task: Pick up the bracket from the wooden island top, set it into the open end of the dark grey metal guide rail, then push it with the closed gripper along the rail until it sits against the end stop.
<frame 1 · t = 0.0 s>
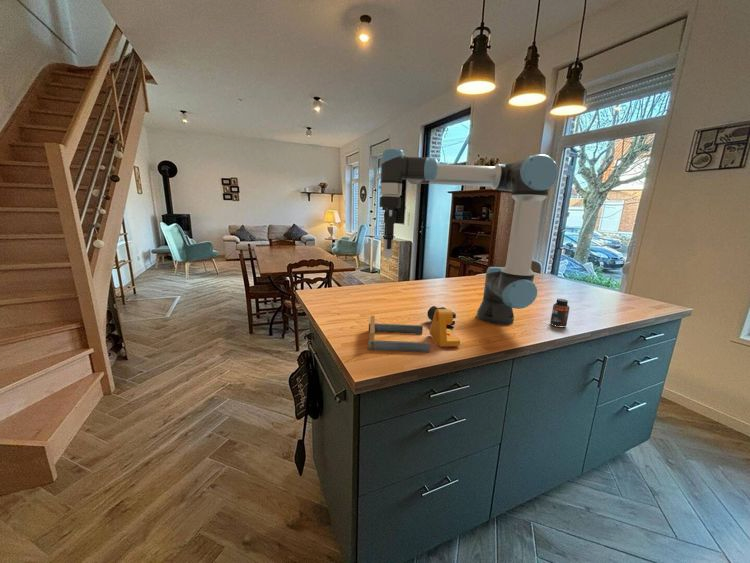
hand: (387, 255, 112), 28 cm above the table, tool pointing down, fingers open, 13 cm apart
bracket: (444, 342, 107), on the table
rail: (396, 340, 106), on the table
supplement bottle: (557, 325, 128), on the table
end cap: (440, 325, 122), on the table
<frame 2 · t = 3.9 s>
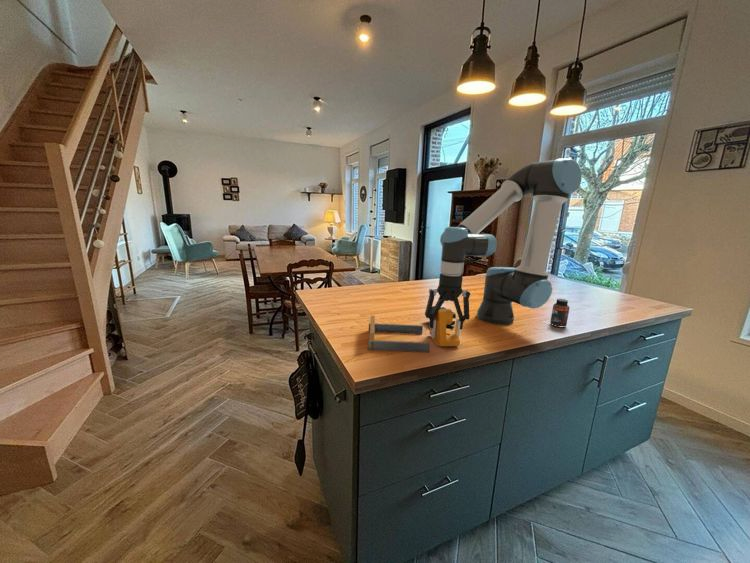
hand: (444, 336, 106), 2 cm above the table, tool pointing down, fingers closed on bracket, 8 cm apart
bracket: (444, 342, 107), on the table, touching gripper
everything else where it was.
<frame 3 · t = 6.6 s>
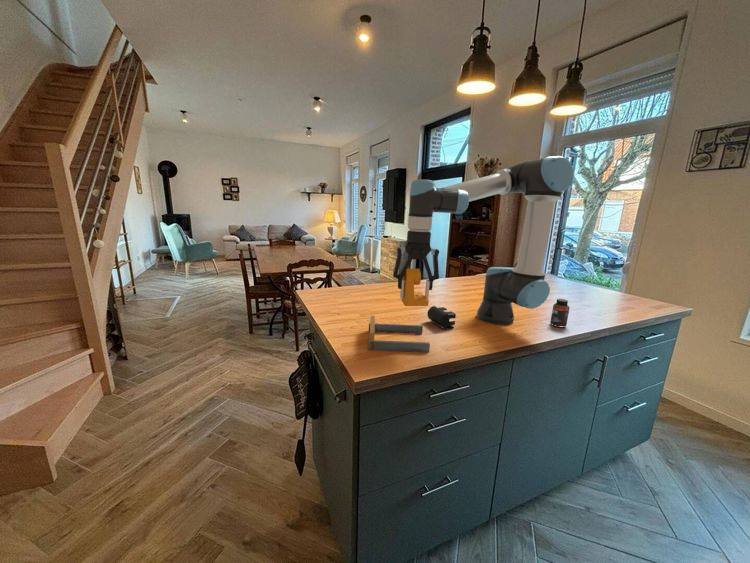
hand: (414, 298, 102), 16 cm above the table, tool pointing down, fingers closed on bracket, 8 cm apart
bracket: (413, 304, 103), point 14 cm above the table, touching gripper
everything else where it was.
when the fingers open (3 cm above the table, at t = 9.5 s): bracket drops 1 cm, on the table.
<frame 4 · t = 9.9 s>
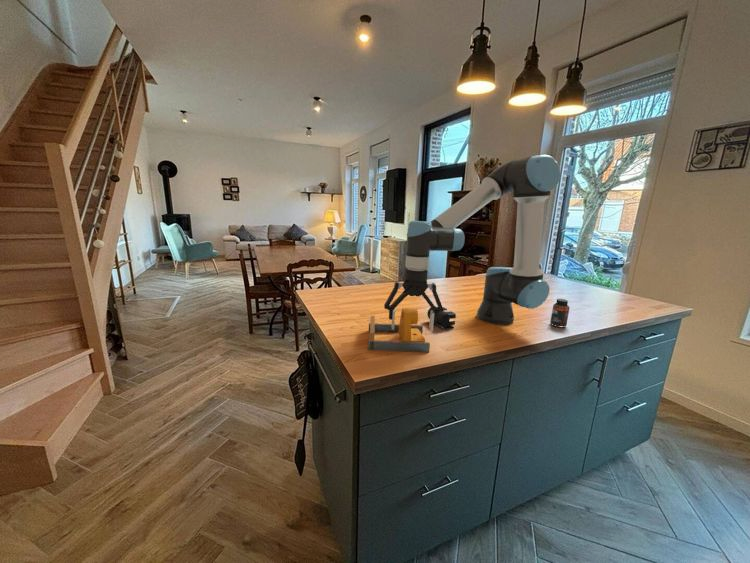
hand: (411, 329, 105), 5 cm above the table, tool pointing down, fingers open, 13 cm apart
bracket: (411, 342, 106), on the table
everything else where it was.
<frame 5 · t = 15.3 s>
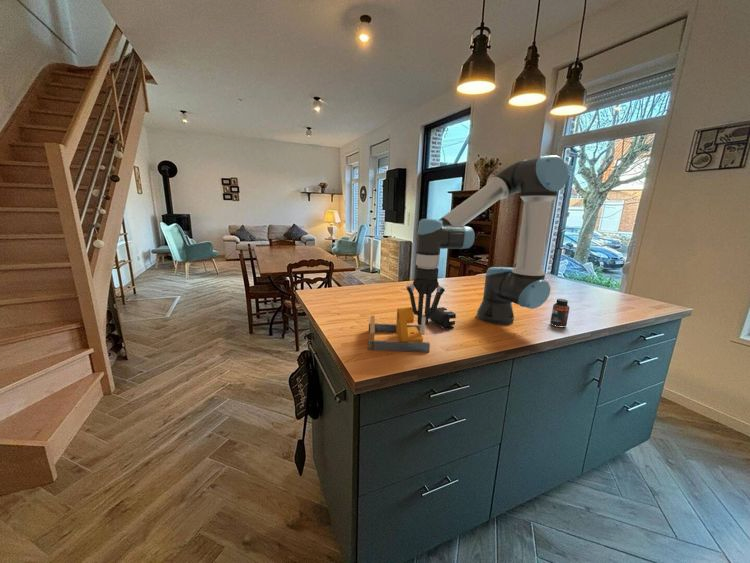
hand: (421, 333, 105), 3 cm above the table, tool pointing down, fingers closed
bracket: (409, 340, 106), on the table, touching gripper, hand
everything else where it was.
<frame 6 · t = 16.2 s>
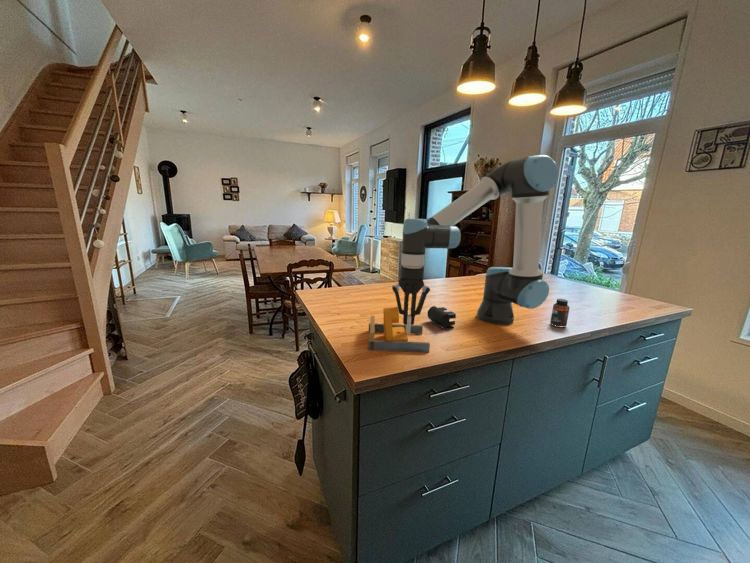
hand: (407, 332, 105), 3 cm above the table, tool pointing down, fingers closed
bracket: (395, 340, 105), on the table, touching gripper, hand
everything else where it was.
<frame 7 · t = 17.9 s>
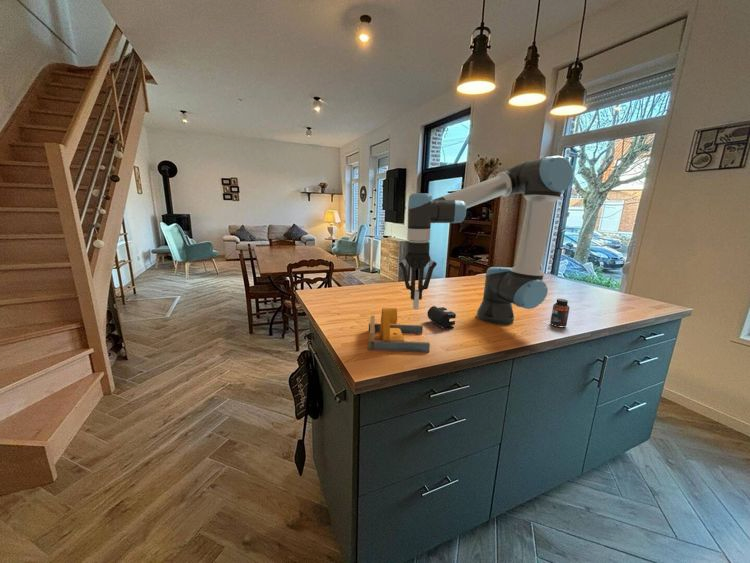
hand: (415, 308, 107), 11 cm above the table, tool pointing down, fingers closed
bracket: (391, 341, 106), on the table
everything else where it was.
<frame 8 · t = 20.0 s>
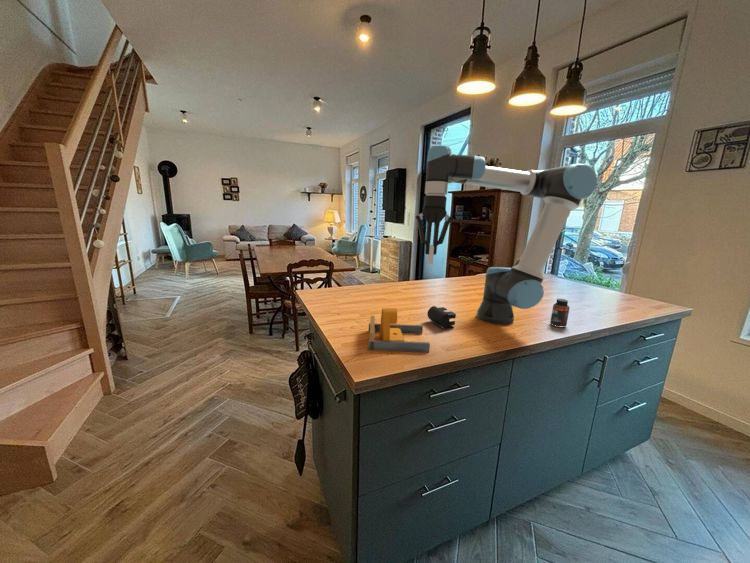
hand: (429, 263, 108), 26 cm above the table, tool pointing down, fingers closed
nothing on the table moved.
at the end: bracket inside the target area on the rail (1.2 cm from its centre), point 0.0 cm above the rail's base; bracket tilted 0°; the gripper is holding nothing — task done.
